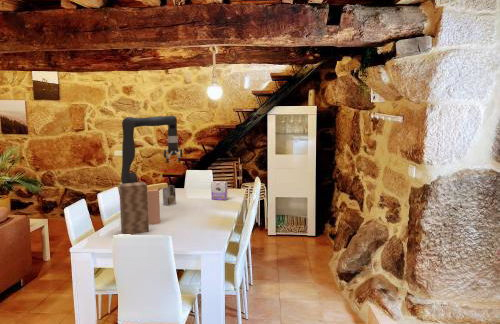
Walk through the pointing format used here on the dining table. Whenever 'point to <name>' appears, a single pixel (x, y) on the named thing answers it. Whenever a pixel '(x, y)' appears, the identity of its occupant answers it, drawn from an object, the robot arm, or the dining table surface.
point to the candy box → (219, 190)
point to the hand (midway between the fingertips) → (173, 162)
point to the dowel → (157, 186)
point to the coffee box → (169, 195)
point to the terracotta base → (153, 207)
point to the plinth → (134, 208)
